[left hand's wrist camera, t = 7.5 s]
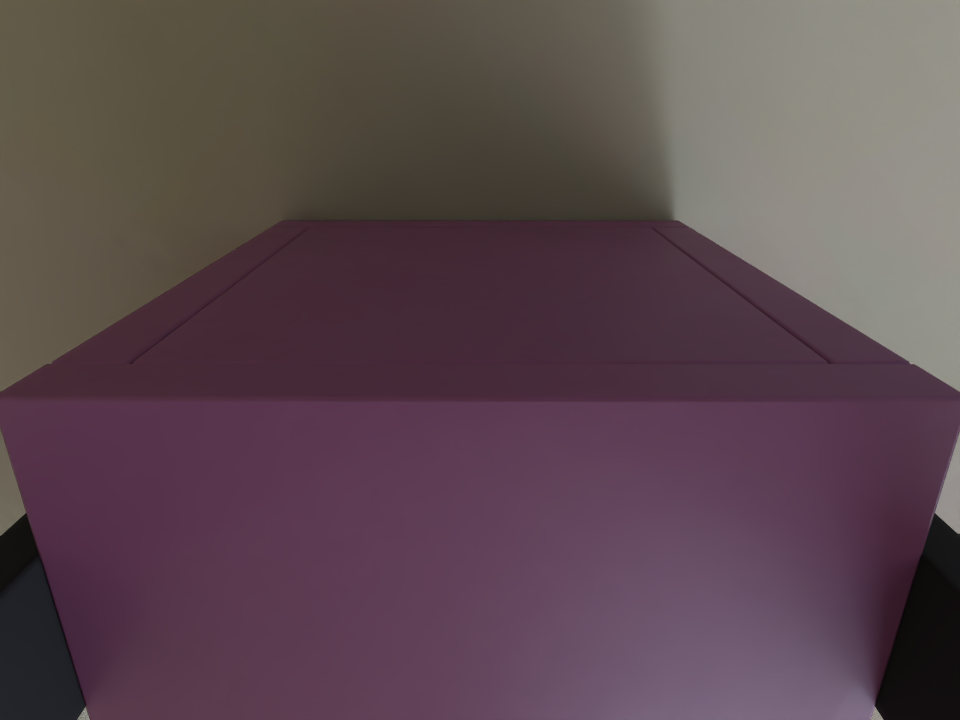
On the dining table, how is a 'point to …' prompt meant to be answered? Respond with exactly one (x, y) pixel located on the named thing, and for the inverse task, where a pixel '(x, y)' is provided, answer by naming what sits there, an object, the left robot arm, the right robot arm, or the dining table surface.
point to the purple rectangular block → (480, 483)
